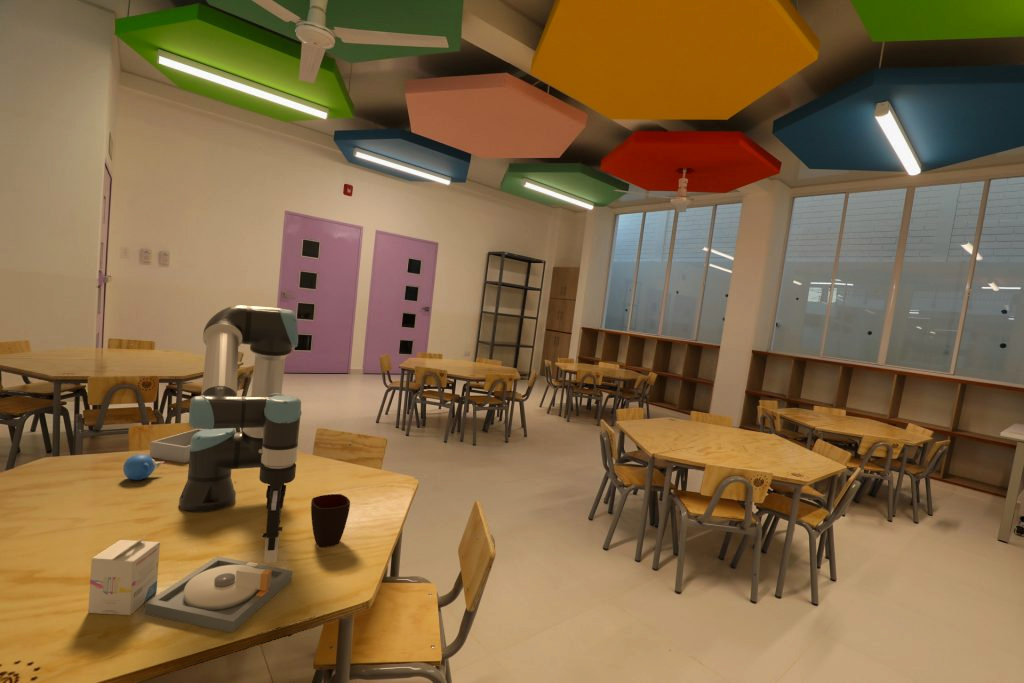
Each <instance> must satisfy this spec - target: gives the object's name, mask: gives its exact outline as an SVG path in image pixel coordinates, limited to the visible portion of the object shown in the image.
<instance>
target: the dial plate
mask: <svg viewBox="0 0 1024 683" xmlns="http://www.w3.org/2000/svg"><path fill="white" fill-rule="evenodd" d="M226 565H247V566H251V567H254V568H257V569H265V570H266V569H267V570H272V575H271V586H270V587H269V588H268V589H267V590H266V591H264V590H259V592H258V593H257V594H256V595H255V596H253V597H252V598H251V599H249V600H247V601H245V602H243V603H241V604H239V605H236V606H233V607H229V608H225V609H219V610H203V609H198V608H193V607H190V606H189V605H187V604H186V603H185V601H184V588H185V586H186V584H187V583H188V582H189V580H191V579H192V578H193V577H195V576H196V575H198V574H200V573H202V572H204V571H206V570H209V569H212V568H216V567H220V566H226ZM292 574H293V570H290V569H285V568H280V567H275V566H271V565H270V566H269V565H265V564H260V563H258V562H252V561H245V560H239V559H234V558H229V557H226V556H225V557H224V556H219V555H218V556H215V557H213V558H212V559H211V560H209V561H208V562H206V563H205V564H202V566H200V567H198V568H197V569H196V570H194V571H192V572H191V573H189V574H187V575H185V576H184V577H183V578H181V579H180V580H178V581H177V582H175V583H174V584H172V585H170V586H169V587H167V588H165V590H163V591H162V592H161V591H160V592H159V593H158V594H156V595H155V596H153V597H152V598H149V599H148V600H146V601H145V602H144V612H143V613H144V615H147V616H151V617H158V618H162V619H165V620H171V621H175V622H180V623H183V624H189V625H194V626H196V627H197V626H198V627H203V628H208V629H212V630H217V631H222V632H226V633H231V634H233V633H234V632H235V631H237V629H238V628H240V627H241V626H242V625H243V624H244V623H245V622H246V621H247V620H248V619H250V618H251V617H252V616H253V615H254V614H255V613H256V612H257V611H258V610H260V609H261V608H262V607H263V606H264V605H265V604H267V602H269V600H271V599H272V598H273V597H274V596H275V595H277V593H279V592H280V591H281V590H282V589H283V588H284V587H286V586H287V585H288V584H289V583H290V582H291V581H292V576H293V575H292Z"/></svg>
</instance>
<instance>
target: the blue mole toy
mask: <svg viewBox="0 0 1024 683" xmlns="http://www.w3.org/2000/svg"><path fill="white" fill-rule="evenodd" d="M165 463H166V462H165V461H156V460H155V458H154V459H153V458H152V457H150V455H149V454H145V453H140V454H134V455H132V456H130V457H129V458H128V459H127V460H126V461H125V462H124V464H123V466H122V467H123V468H122V470H123V475H124V476H125V477H126V478H128V479H129V480H133V481H140V480H143V479H146V478H148V477H150V476H151V475H152V474H153V473H154V471H155V470H156V469H157V468H159V467H160V466H162V465H164V464H165Z"/></svg>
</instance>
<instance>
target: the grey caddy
mask: <svg viewBox="0 0 1024 683" xmlns="http://www.w3.org/2000/svg"><path fill="white" fill-rule="evenodd" d="M202 430H205V429H195V428H194V429H191V430H188V431H185V432H181V433H177V434H173V435H169V436H166V437H163V438H159V439H155V440H152V441H150V448H149V456H150V457H151V458H152V459H153V458H154V459H159V460H165V461H171V462H177V463H189V457H190V451H189V448H190V444H191V438H192V436H193V435H194V434H195V433H197V432H199V431H202Z"/></svg>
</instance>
